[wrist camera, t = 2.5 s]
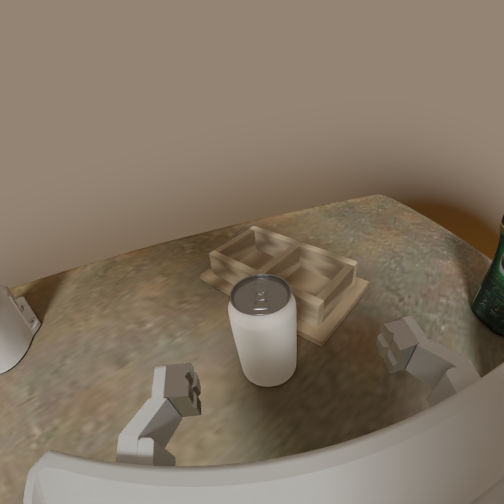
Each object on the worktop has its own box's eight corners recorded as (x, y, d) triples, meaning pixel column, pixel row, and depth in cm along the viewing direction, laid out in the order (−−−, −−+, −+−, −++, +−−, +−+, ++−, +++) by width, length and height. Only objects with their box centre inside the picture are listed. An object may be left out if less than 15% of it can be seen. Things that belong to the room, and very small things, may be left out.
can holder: (200, 279, 48) (193, 254, 45) (255, 242, 56) (252, 219, 53) (321, 347, 33) (324, 320, 30) (368, 286, 41) (372, 260, 38)
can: (293, 343, 34) (292, 267, 28) (299, 385, 29) (300, 314, 22) (243, 347, 34) (227, 273, 28) (242, 390, 29) (222, 321, 23)
